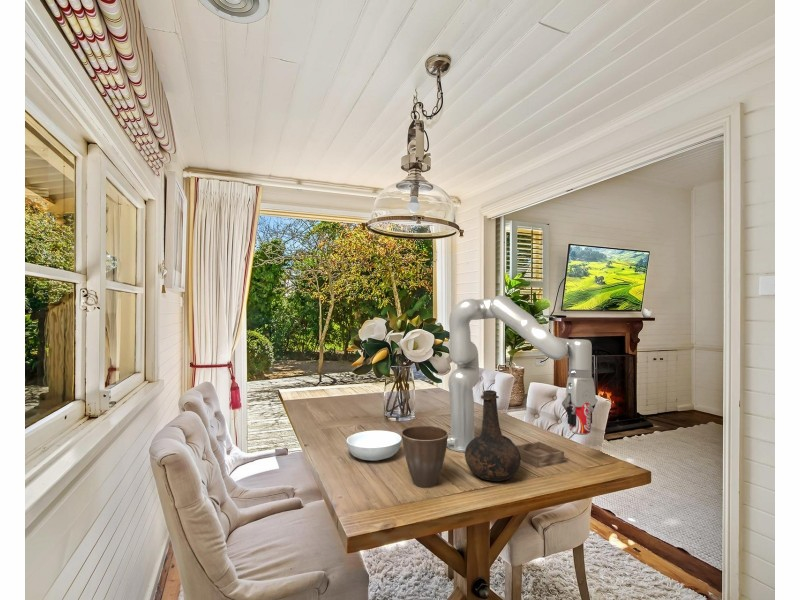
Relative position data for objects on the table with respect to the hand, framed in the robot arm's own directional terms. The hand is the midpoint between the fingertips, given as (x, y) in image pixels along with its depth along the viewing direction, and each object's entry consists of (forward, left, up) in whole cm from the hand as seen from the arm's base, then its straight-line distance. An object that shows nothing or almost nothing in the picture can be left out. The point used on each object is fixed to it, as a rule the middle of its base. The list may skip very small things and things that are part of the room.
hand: (579, 423), depth 141 cm
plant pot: (-58, +9, -15) cm, 60 cm away
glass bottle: (-35, +5, -15) cm, 38 cm away
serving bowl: (-65, +38, -15) cm, 76 cm away
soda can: (0, 0, -4) cm, 4 cm away
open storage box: (-10, +11, -14) cm, 20 cm away
